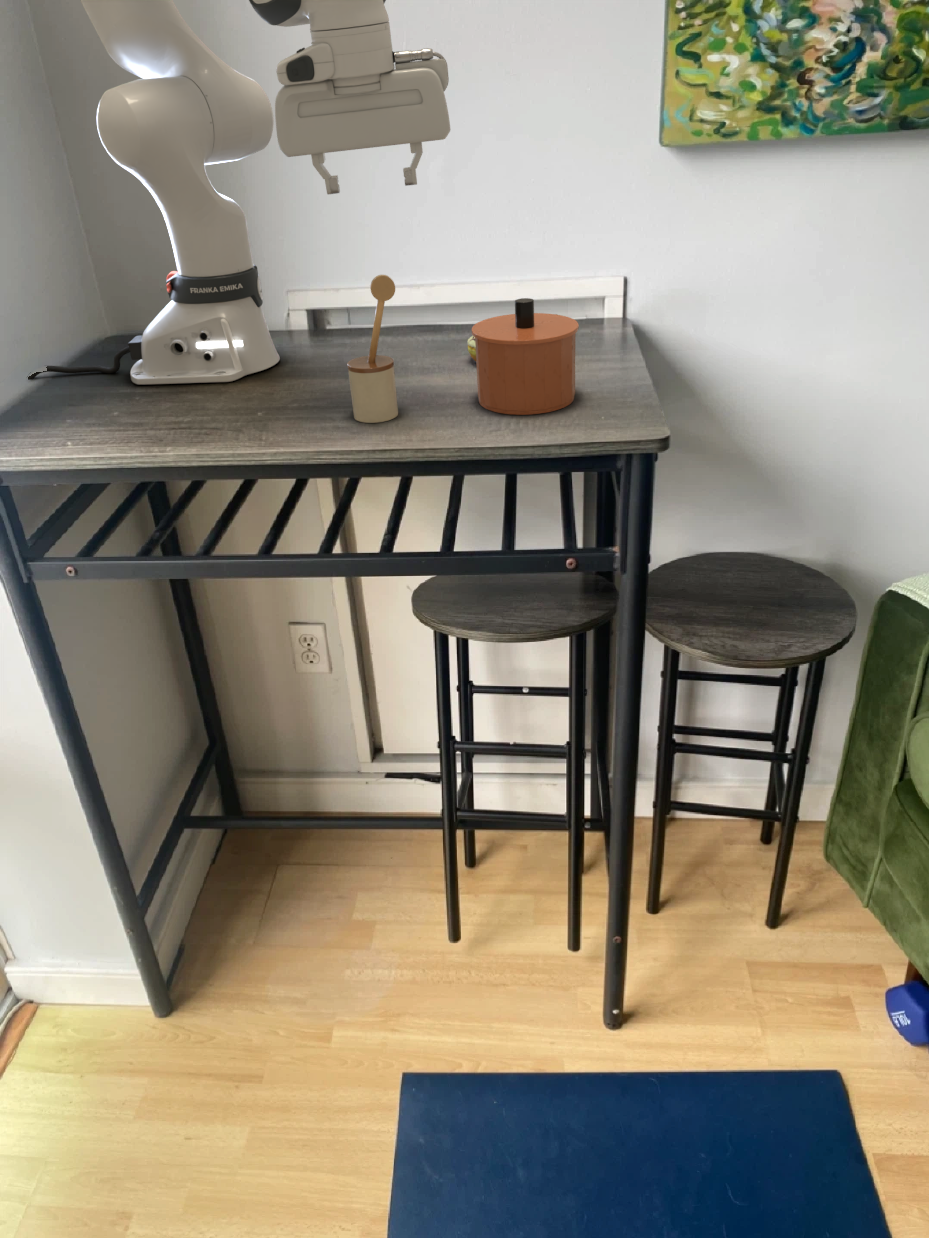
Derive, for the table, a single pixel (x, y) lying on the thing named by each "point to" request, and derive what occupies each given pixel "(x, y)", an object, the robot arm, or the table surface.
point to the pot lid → (525, 326)
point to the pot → (526, 376)
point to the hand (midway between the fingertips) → (372, 189)
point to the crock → (374, 368)
